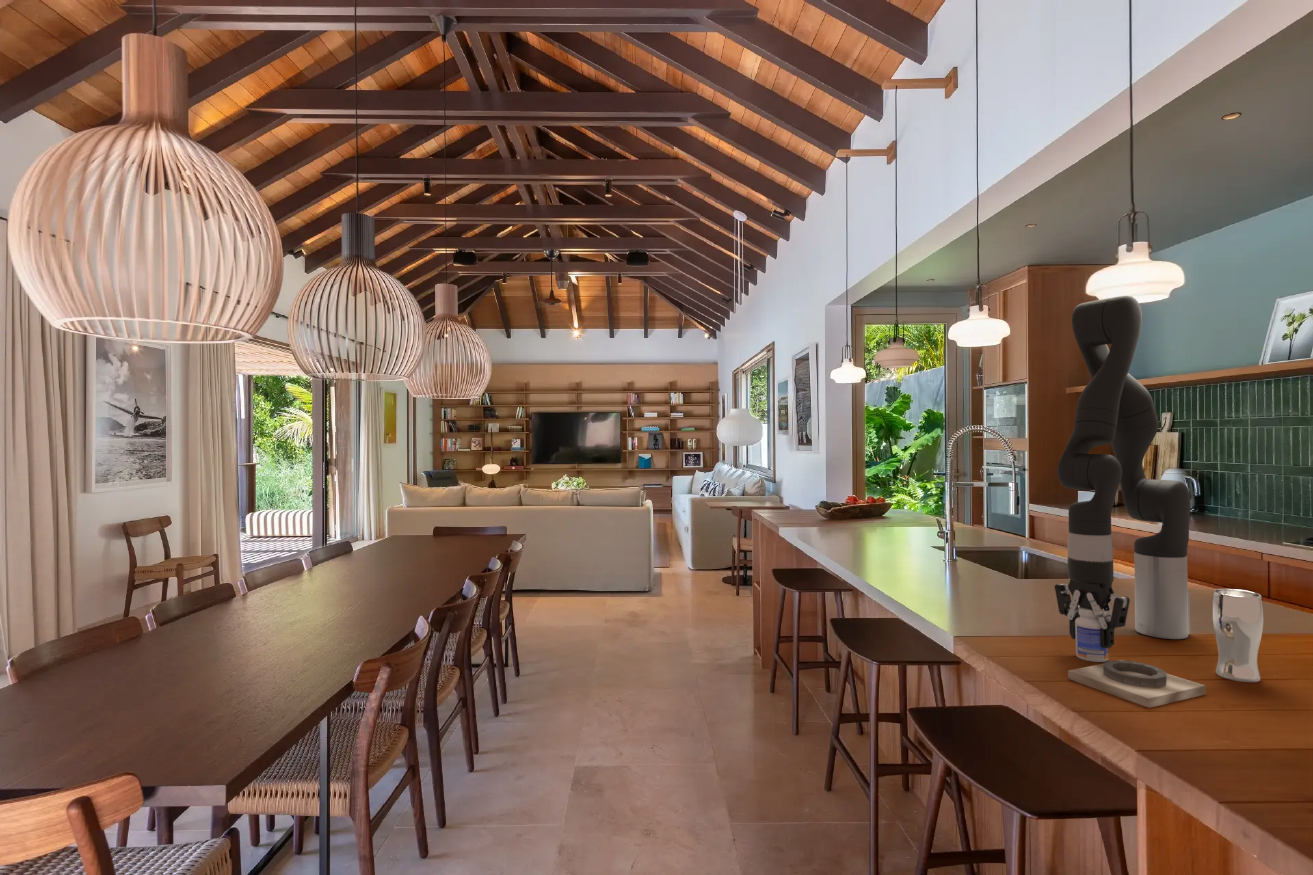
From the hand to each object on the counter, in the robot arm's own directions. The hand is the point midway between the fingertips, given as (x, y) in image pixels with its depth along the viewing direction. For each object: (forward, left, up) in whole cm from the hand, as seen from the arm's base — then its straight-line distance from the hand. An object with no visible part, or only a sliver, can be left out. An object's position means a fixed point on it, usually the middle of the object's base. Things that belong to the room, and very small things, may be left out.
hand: (1091, 642), depth 133 cm
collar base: (+7, +13, -3) cm, 15 cm away
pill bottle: (0, 0, -3) cm, 3 cm away
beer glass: (-14, +17, -3) cm, 22 cm away
